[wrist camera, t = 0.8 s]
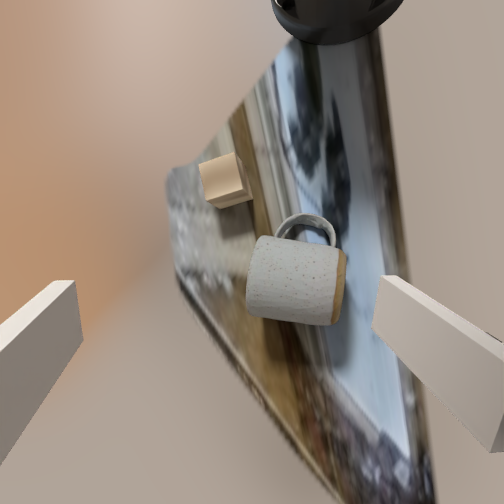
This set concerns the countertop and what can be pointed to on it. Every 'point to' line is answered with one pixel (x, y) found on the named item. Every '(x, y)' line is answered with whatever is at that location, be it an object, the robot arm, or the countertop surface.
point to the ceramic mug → (297, 276)
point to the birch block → (225, 181)
